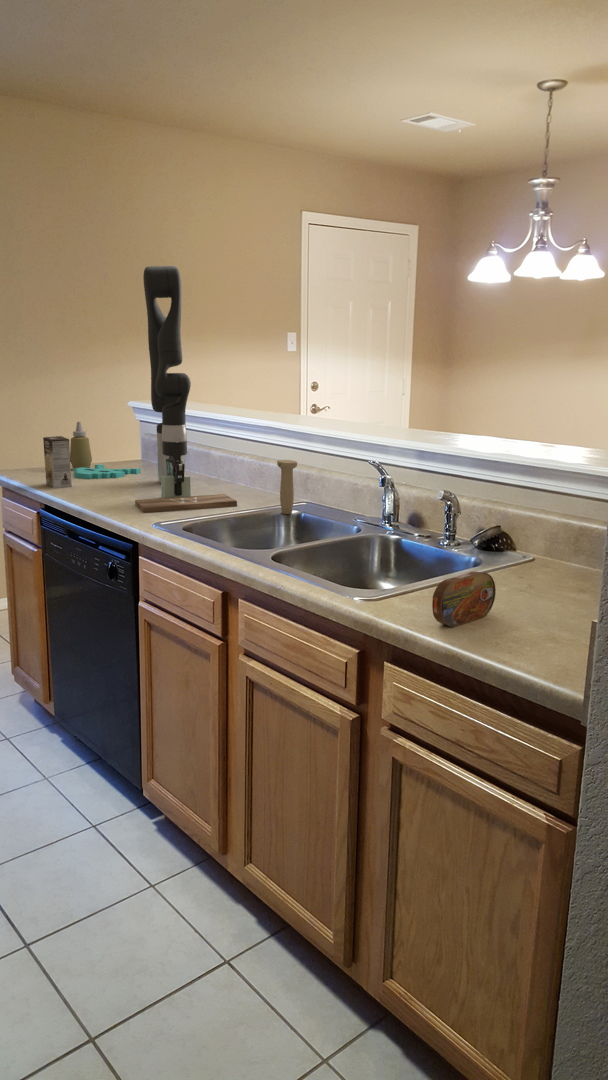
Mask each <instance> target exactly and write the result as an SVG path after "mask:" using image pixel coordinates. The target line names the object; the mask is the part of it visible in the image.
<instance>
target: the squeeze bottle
mask: <svg viewBox="0 0 608 1080" xmlns="http://www.w3.org/2000/svg"><path fill="white" fill-rule="evenodd" d="M69 445H70V465H71V467H72V469H73V470H74V469H76V468H81V467H85V468H91V465H92V461H93V457H92V452H91V445H90V439H89V437H87V432H86V431H84V430H83V425H82V423H81V421H77V422H76V428H75V430H74V431H73V432H72V437H71V438H70V444H69Z"/></svg>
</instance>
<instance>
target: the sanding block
mask: <svg viewBox="0 0 608 1080" xmlns="http://www.w3.org/2000/svg"><path fill="white" fill-rule="evenodd" d="M179 478H180V477H179V476H178V479H179ZM181 484H182V495H181V496H176V495H175V494H174V478H173V476H172V475H165V476H161V483H160V487H161V490H160V491H161V494H160V495H161V498H172V497H188V496H192V495H191V476H189V474H186V473H185V474H184V482H183V483H181Z"/></svg>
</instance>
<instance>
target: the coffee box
mask: <svg viewBox="0 0 608 1080" xmlns="http://www.w3.org/2000/svg"><path fill="white" fill-rule="evenodd" d="M42 438H43V453H44V467H45V468H44V469H45V481H46V482H45V483H46V485H48V486H50V487H52V488H53V489H59V488H68V487H69V488H70V487H72V469H71V467H72V464H71V462H70V445H71V444H70V438H67V437H64V436H62V435H58V436H57V435H56V436H44V437H42Z"/></svg>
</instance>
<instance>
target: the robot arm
mask: <svg viewBox="0 0 608 1080" xmlns="http://www.w3.org/2000/svg"><path fill="white" fill-rule="evenodd" d="M142 275H143V289H144V295H145V296H144V298H145V305H146V313H147V314H146V315H147V316H146V317H147V341H148V342H147V343H148V352H149V353H148V354H149V363H150V364H149V365H150V398H151V399H150V403H151V407H152V408H151V409H152V410H153V411H154V412H156V413H161V420H162V421H161V422H160V423H158V424H157V425H156V448H157V453H156V454H157V479H158V483H159V484H161V476H165V475H172V476H173V478H174V494H175V495H176V496H181V495H182V484H181V483H183V482H184V474H186V463H185V461H186V459H185V456H186V455H187V454H188V440H187V439H188V438H187V437H188V436H187V427H186V407H187V402H188V398H189V394H190V391H191V379H190V376H188V374H186V373H184V372H167V371H168V370H169V369H171V368H174V367H178V366H180V365H182V363H183V353H182V352H183V351H182V340H181V339H182V338H181V327H182V326H181V324H182V323H181V321H182V279H181V273H180V270H179V268H178V267H177V266H175V265H150V266H146V267H145V268H144V270H143V274H142ZM157 299H170V300H171V302H170V308H169V310H168V313H167V316H165V314H164V313H163V312H162V310H161V308H160V306H159V304H158V301H157ZM178 476H179V477H180V478H179V479H178Z"/></svg>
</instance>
